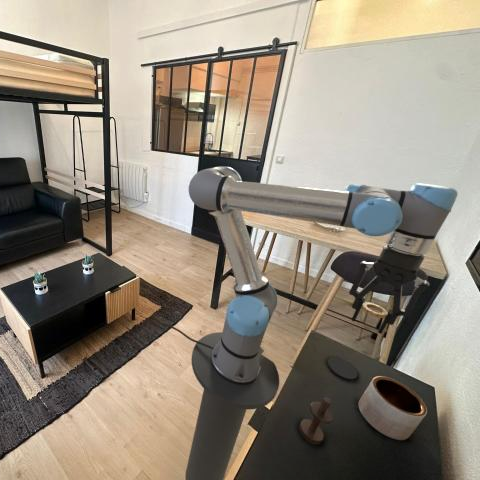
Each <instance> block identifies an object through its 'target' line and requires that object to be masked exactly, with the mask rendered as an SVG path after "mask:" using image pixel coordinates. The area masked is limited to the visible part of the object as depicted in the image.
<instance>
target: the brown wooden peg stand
mask: <svg viewBox="0 0 480 480" xmlns="http://www.w3.org/2000/svg"><path fill="white" fill-rule="evenodd" d="M331 403H332V400H331V399H330V398H329V397H327V396H324V397H323V399H322V401H321V402H319V401H313V402H311V403H310V405H309V411H310V413H311V415H312V416H313V419H309V418H304V419H302V421H301V422H300V424H299V426H298V429H299V433H300V434H301V436H302V438H304V440H305V441H307V442H308V443H310V444H311V445H315V446H316V445H317V446H318V445H321V443H322V442H323V440H324V437H325V436H324V435H325V434H324V431H323V429H322V428H321V426H320V424H321V423H322V424H325V425H328V424H331V423H332V422H333V419H334V416H333V413H332V411H331V410H330V408H329V407H330V405H331Z"/></svg>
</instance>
